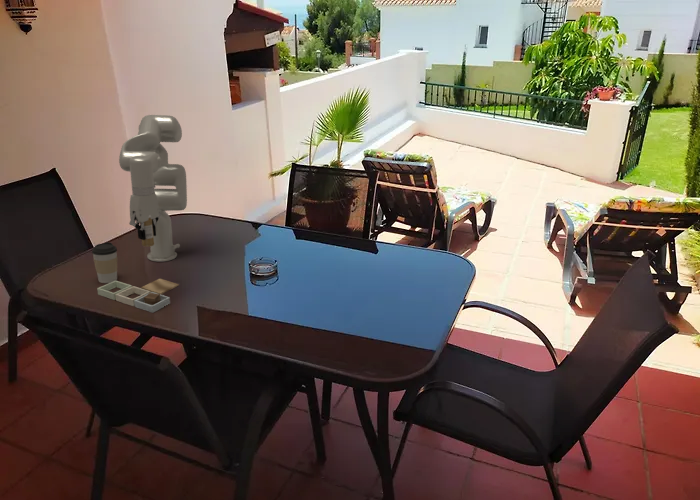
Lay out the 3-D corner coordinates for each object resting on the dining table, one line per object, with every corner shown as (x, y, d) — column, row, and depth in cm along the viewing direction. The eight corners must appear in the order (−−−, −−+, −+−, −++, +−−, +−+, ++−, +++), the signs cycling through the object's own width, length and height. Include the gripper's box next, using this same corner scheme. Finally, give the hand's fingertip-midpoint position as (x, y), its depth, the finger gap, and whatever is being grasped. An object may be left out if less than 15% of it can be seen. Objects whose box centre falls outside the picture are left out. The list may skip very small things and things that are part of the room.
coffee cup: (110, 285, 204) (106, 250, 199) (90, 282, 206) (86, 247, 201) (124, 276, 213) (121, 242, 207) (104, 273, 214) (101, 239, 209)
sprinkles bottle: (154, 242, 199) (151, 209, 194) (154, 246, 195) (151, 213, 190) (141, 243, 197) (138, 209, 192) (141, 247, 193) (138, 213, 188)
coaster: (159, 279, 212) (159, 278, 212) (178, 285, 209) (178, 284, 208) (141, 288, 204) (141, 287, 204) (160, 294, 200) (160, 293, 200)
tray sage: (116, 286, 204) (115, 280, 203) (132, 291, 201) (131, 285, 200) (98, 294, 197) (97, 288, 196) (114, 300, 194) (113, 293, 193)
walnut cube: (150, 302, 194) (149, 292, 192) (160, 304, 193) (159, 294, 192) (144, 307, 190) (144, 297, 189) (154, 308, 190) (154, 298, 188)
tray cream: (134, 292, 201) (133, 286, 200) (150, 297, 197) (150, 291, 196) (116, 300, 193) (115, 294, 192) (133, 306, 190) (132, 299, 189)
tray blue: (152, 298, 197) (152, 291, 196) (170, 303, 194) (169, 297, 193) (135, 306, 190) (134, 300, 189) (152, 312, 186) (152, 306, 185)
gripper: (153, 183, 196) (156, 228, 203) (116, 193, 182) (121, 241, 189) (168, 187, 194) (171, 232, 201) (132, 197, 179) (136, 246, 186)
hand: (147, 236), depth 195 cm, fingers closed on sprinkles bottle, 4 cm apart
